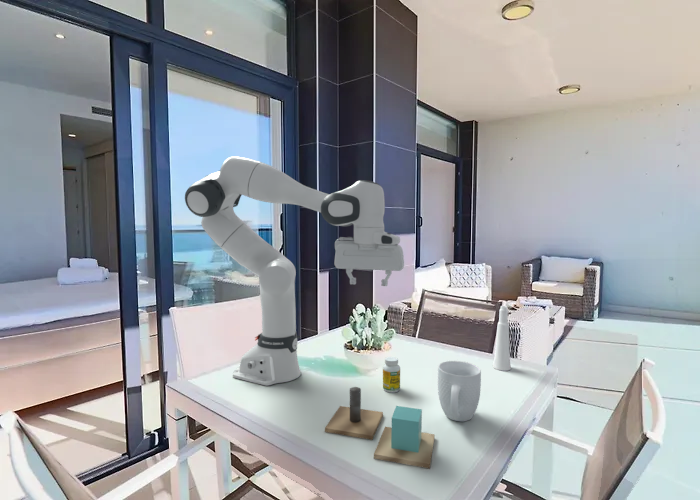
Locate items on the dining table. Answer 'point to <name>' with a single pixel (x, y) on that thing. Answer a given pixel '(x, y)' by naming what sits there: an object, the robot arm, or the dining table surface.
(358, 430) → the post stand
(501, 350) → the cosmetic bottle
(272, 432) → the dining table surface
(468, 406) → the mug
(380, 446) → the oak pad
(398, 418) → the teal rectangular block
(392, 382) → the supplement bottle
